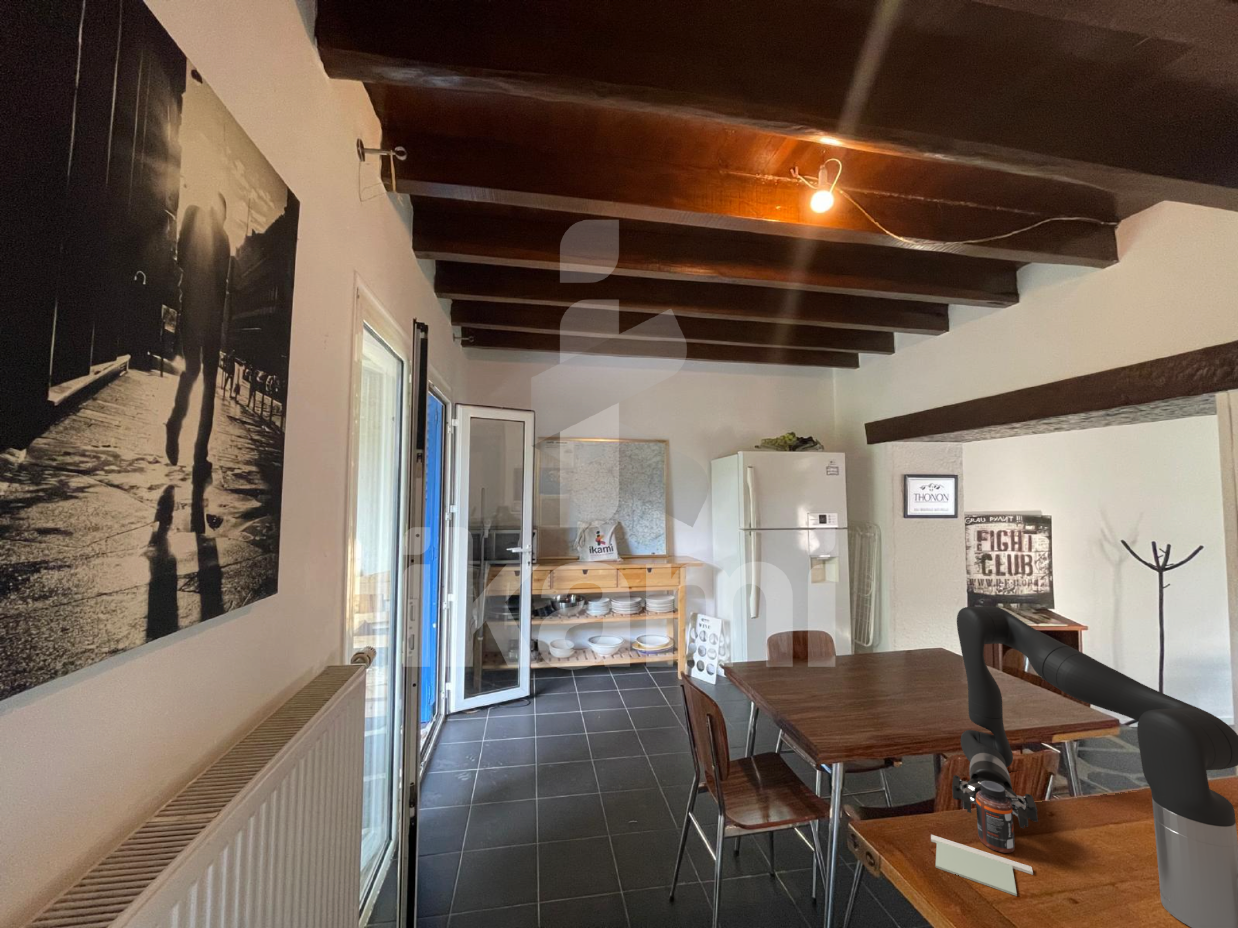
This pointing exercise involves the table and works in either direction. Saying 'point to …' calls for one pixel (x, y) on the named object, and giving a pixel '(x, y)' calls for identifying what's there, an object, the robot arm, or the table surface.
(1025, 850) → the table surface
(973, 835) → the table surface
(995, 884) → the white flat t-shaped panel
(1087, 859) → the table surface
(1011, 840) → the supplement bottle
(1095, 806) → the table surface
